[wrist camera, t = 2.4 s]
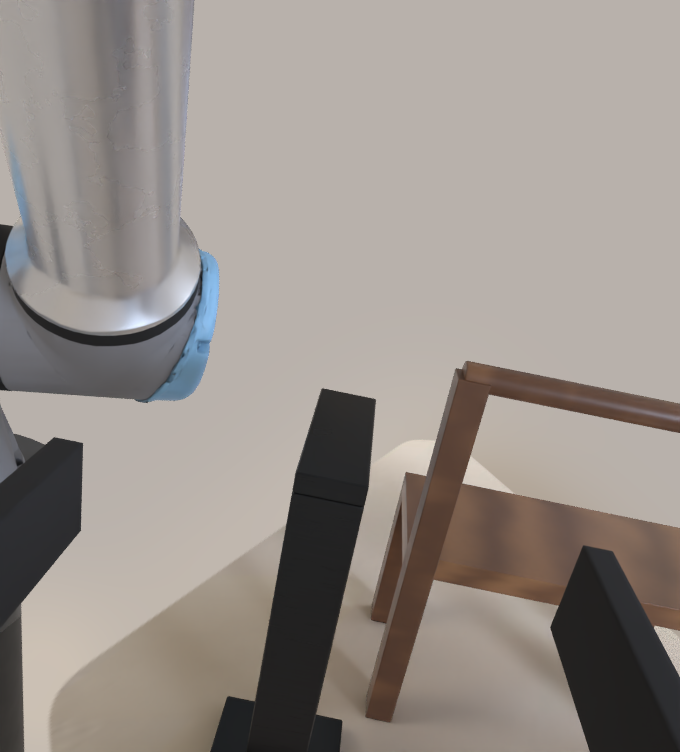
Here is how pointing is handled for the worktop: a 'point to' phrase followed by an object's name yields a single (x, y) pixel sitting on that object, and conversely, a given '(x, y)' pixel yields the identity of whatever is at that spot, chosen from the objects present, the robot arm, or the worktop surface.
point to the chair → (508, 524)
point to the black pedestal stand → (308, 586)
